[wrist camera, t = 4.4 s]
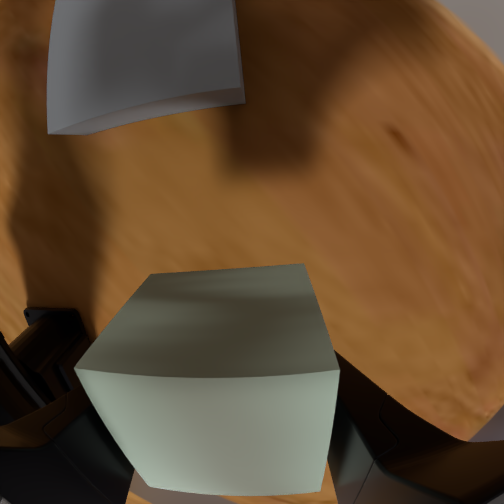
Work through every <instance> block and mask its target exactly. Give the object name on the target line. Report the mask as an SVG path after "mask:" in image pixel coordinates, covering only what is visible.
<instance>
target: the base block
mask: <svg viewBox="0 0 504 504" xmlns="http://www.w3.org/2000/svg"><path fill="white" fill-rule="evenodd" d="M237 104H246V102H245V91H244V81H243V72H242V62H241V52H240V42H239V33H238V23H237V14H236V4H235V0H56V2H55V7H54V13H53V19H52V27H51V34H50V44H49V55H48V71H47V127H48V134H68V135H89V134H92V133H96V132H99V131H103V130H106V129H110V128H113V127H117V126H121V125H125V124H129V123H133V122H137V121H142V120H146V119H151V118H155V117H160V116H165V115H170V114H176V113H181V112H187V111H193V110H199V109H206V108H213V107H220V106H228V105H237Z"/></svg>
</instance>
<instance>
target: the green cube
mask: <svg viewBox="0 0 504 504" xmlns="http://www.w3.org/2000/svg"><path fill="white" fill-rule="evenodd" d="M74 369H75V371H76V374H77V376H78V378H79V379H80V381H81V383H82V385H83V387H84V389H85V391H86V393H87V395H88V397H89V398H90V400H91V402H92V404H93V405H94V407H95V409H96V411H97V412H98V414H99V416H100V417H101V419H102V421H103V422H104V424H105V426H106V427H107V429H108V430H109V432H110V433H111V435H112V437H113V438H114V440H115V441H116V443H117V444H118V445H119V447H120V448H121V450H122V451H123V453H124V454H125V456H126V457H127V458H128V460H129V461H130V462H131V464H132V465H133V466H134V468H135V469H136V470H137V472H138V473H139V474H140V476H141V477H142V478H143V479H144V481H145V482H146V483H147V484H148V486H149V487H155V488H161V489H168V490H174V491H181V492H190V493H200V494H212V495H232V496H268V495H288V494H300V493H310V492H318V491H320V490H321V485H322V480H323V476H324V471H325V466H326V461H327V456H328V450H329V445H330V439H331V433H332V427H333V420H334V413H335V406H336V399H337V391H338V383H339V374H340V368H339V365H338V362H337V359H336V355H335V352H334V349H333V346H332V343H331V340H330V337H329V334H328V331H327V328H326V325H325V322H324V319H323V316H322V313H321V310H320V307H319V304H318V302H317V299H316V296H315V293H314V290H313V287H312V284H311V282H310V279H309V276H308V273H307V271H306V268H305V265H304V263H303V264H290V265H277V266H264V267H250V268H236V269H221V270H207V271H191V272H176V273H159V274H150V276H149V277H148V278H147V279H146V280H145V281H144V282H143V284H142V285H141V286H140V287H139V288H138V289H137V290H136V292H135V293H134V294H133V295H132V296H131V297H130V299H129V300H128V301H127V302H126V303H125V305H124V306H123V307H122V308H121V309H120V311H119V312H118V313H117V314H116V315H115V317H114V318H113V319H112V320H111V321H110V323H109V324H108V325H107V326H106V328H105V329H104V330H103V331H102V332H101V334H100V335H99V336H98V337H97V339H96V340H95V341H94V342H93V344H92V345H91V346H90V348H89V349H88V350H87V351H86V353H85V354H84V355H83V356H82V358H81V359H80V360H79V362H78V363H77V364H76V366H75V367H74Z"/></svg>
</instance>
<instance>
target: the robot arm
mask: <svg viewBox="0 0 504 504" xmlns="http://www.w3.org/2000/svg"><path fill="white" fill-rule="evenodd" d="M24 315H25V318H26V321H27V323H28V325H29V327H28V328H27V329H25V330H24V331H23V332H22V333H21V334H20V335H19V336H18V337H17V338H16V339H15V340H14V341H12V342H11V343H10V344H9V345H8V344H7V342H6V341H5V339H4V338H5V337H4V336H3V334H2V333H1V331H0V504H125V503H126V499H127V495H128V492H129V488H130V484H131V481H132V476H133V473H134V470H135V468H134V466H133V465H132V464H131V462H130V461H129V460H128V458H127V457H126V456H125V454H124V453H123V451H122V450H121V448H120V447H119V445H118V444H117V443H116V441H115V440H114V438H113V437H112V435H111V433H110V432H109V430H108V429H107V427H106V426H105V424H104V422H103V421H102V419H101V417H100V416H99V414H98V412H97V411H96V409H95V407H94V405H93V404H92V402H91V400H90V398H89V397H88V395H87V393H86V391H85V389H84V387H83V385H82V383H81V381H80V379H79V378H78V376H77V374H76V371H75V369H74V367H75V366H76V364H77V363H78V362H79V360H80V359H81V358H82V356H83V355H84V354H85V353H86V351H87V350H88V349H89V348H90V346H91V345H90V342H89V339H88V337H87V334H86V332H85V329H84V326H83V324H82V321H81V318H80V315H79V313H78V312H77V311H76V310H75V309H65V308H34V307H27V308H26V309H25V310H24ZM334 352H335V355H336V359H337V362H338V365H339V368H340V374H339V383H338V391H337V399H336V406H335V413H334V420H333V427H332V433H331V439H330V445H329V450H328V456H327V460H328V464H329V468H330V472H331V476H332V480H333V484H334V488H335V492H336V496H337V501H338V504H504V440H500V441H489V442H466V441H462V440H460V439H457V438H455V437H453V436H451V435H449V434H448V433H446V432H444V431H442V430H441V429H439V428H437V427H436V426H434V425H432V424H430V423H429V422H427V421H425V420H424V419H422V418H421V417H419V416H417V415H416V414H414V413H413V412H411V411H410V410H408V409H407V408H405V407H404V406H403V405H401V404H400V403H399V402H397V401H396V400H395V399H394V398H392V397H391V396H390V395H387V393H386V392H385V391H384V390H382V389H381V388H380V387H379V386H377V385H376V384H375V383H374V382H372V381H371V380H370V379H369V378H368V377H366V376H365V375H364V374H363V373H361V372H360V371H359V370H358V369H357V368H355V367H354V366H353V365H352V364H351V363H349V362H348V361H347V360H346V359H344V358H343V357H342V356H341V355H340V354H338V353H337V352H336V351H335V350H334Z"/></svg>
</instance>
